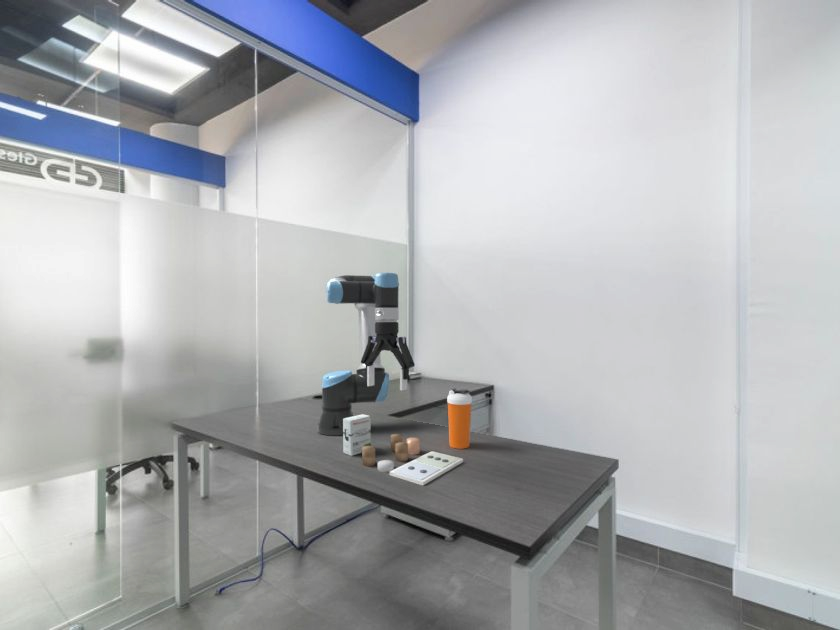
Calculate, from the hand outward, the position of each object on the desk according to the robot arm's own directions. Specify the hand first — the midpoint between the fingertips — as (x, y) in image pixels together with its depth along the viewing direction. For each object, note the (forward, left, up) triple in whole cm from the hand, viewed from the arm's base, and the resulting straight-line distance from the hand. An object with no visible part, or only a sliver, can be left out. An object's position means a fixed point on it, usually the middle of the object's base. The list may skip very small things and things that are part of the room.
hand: (386, 387), depth 133 cm
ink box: (-14, +1, -24) cm, 27 cm away
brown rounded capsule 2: (+3, +4, -23) cm, 24 cm away
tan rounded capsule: (-3, -5, -23) cm, 24 cm away
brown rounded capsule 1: (-4, +10, -23) cm, 26 cm away
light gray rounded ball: (+4, -5, -24) cm, 25 cm away
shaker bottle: (+11, +27, -24) cm, 37 cm away
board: (+14, +3, -23) cm, 28 cm away
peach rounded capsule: (+2, +11, -23) cm, 26 cm away
